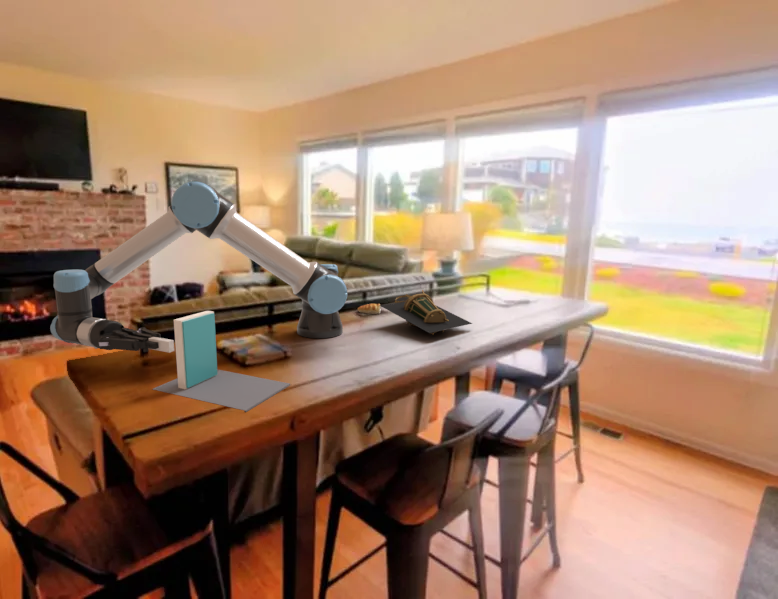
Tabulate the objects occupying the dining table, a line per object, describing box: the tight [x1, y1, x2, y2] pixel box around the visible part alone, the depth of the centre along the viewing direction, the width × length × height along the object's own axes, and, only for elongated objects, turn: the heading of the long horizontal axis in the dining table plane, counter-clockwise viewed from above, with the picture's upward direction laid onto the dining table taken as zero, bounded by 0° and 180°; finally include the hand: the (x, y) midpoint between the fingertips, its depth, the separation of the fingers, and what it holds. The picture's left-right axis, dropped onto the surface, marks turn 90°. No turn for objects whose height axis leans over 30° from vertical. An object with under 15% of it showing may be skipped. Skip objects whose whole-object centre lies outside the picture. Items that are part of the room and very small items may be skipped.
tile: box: [173, 310, 218, 389], centre depth 106 cm, size 2×10×16 cm, turn 158°
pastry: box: [357, 303, 382, 315], centre depth 184 cm, size 9×7×4 cm
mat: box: [152, 368, 291, 413], centre depth 105 cm, size 26×16×1 cm, turn 68°
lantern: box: [380, 289, 473, 336], centre depth 162 cm, size 14×23×30 cm
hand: (171, 346), depth 109 cm, fingers closed
